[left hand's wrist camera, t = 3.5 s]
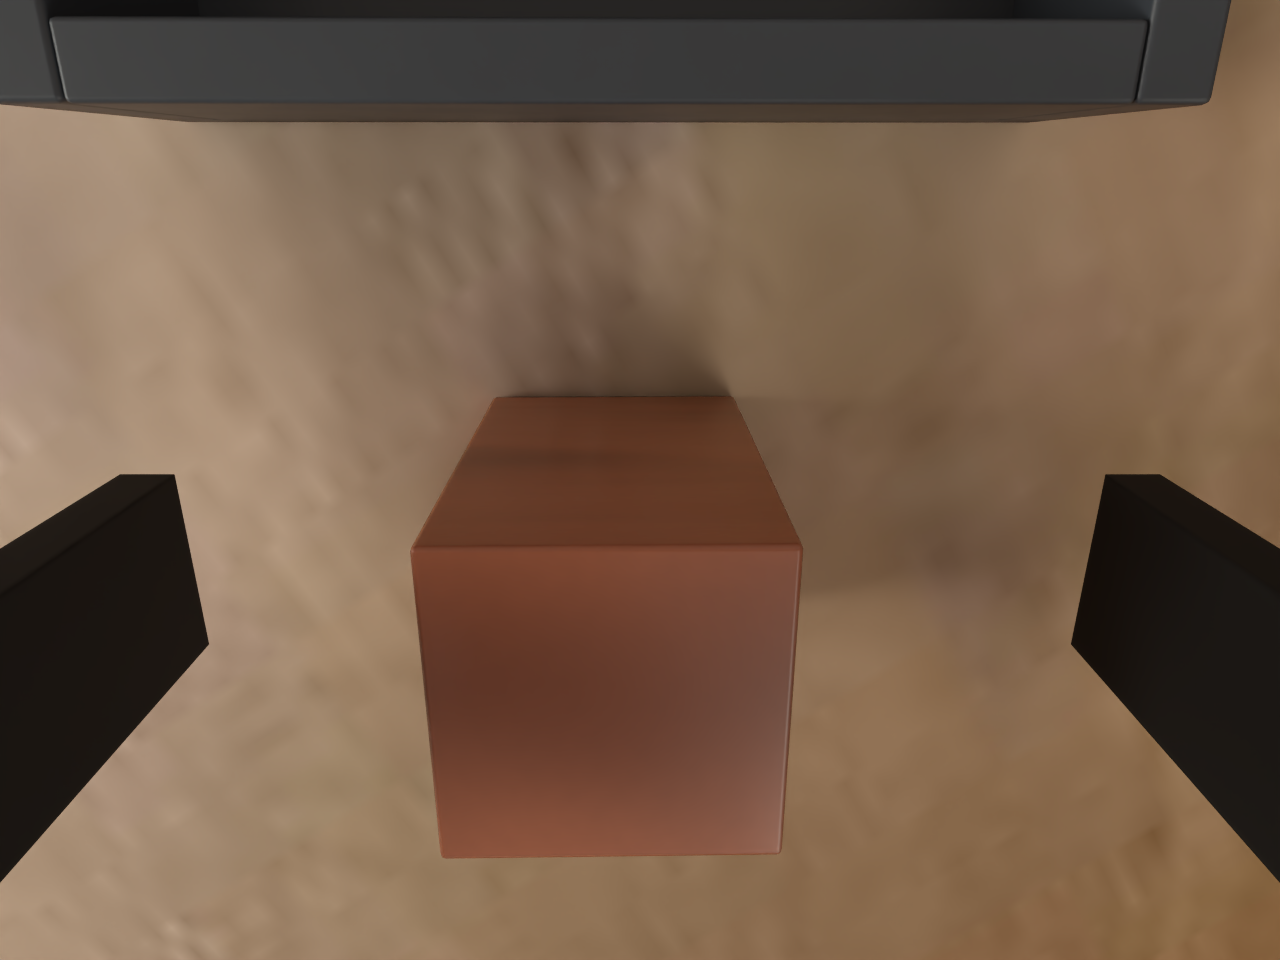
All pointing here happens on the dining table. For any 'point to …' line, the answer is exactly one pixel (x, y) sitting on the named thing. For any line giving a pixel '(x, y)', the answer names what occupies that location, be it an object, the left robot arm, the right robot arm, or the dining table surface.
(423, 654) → the block
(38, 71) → the tray
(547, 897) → the dining table surface
